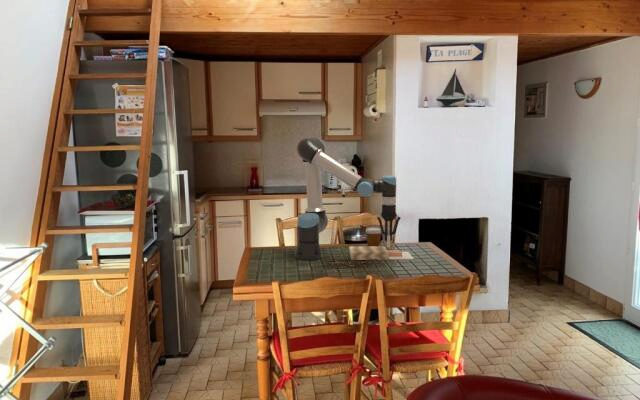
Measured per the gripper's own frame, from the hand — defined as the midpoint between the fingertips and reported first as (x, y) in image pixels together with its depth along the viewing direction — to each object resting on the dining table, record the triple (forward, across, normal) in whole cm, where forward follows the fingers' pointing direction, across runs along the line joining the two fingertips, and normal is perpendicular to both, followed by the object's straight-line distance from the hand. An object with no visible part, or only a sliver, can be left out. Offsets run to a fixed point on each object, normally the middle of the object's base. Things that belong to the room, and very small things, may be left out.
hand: (388, 246), depth 264 cm
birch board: (+6, -11, 0) cm, 12 cm away
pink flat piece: (+5, +3, 0) cm, 6 cm away
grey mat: (+6, +6, 0) cm, 8 cm away
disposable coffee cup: (+6, -6, +17) cm, 19 cm away
